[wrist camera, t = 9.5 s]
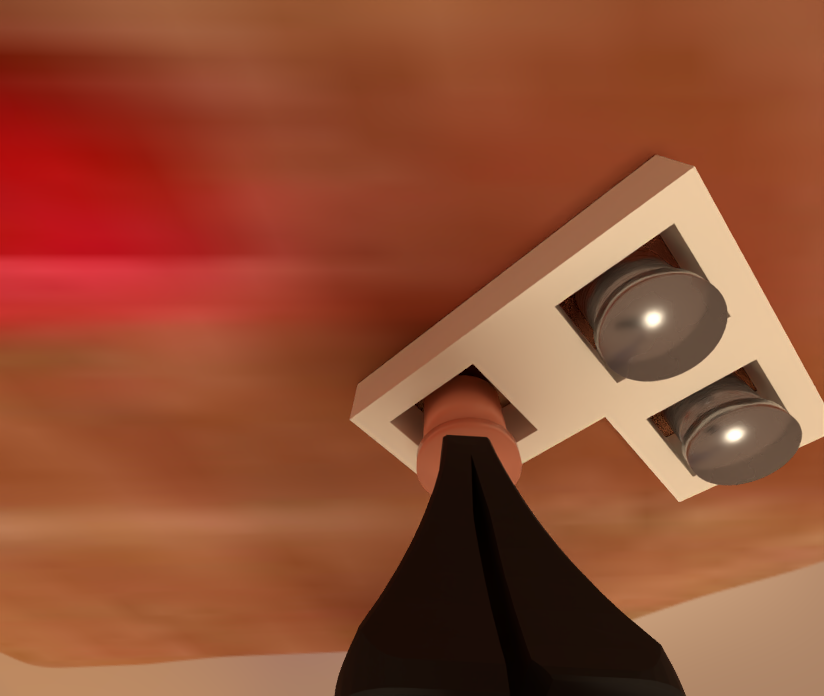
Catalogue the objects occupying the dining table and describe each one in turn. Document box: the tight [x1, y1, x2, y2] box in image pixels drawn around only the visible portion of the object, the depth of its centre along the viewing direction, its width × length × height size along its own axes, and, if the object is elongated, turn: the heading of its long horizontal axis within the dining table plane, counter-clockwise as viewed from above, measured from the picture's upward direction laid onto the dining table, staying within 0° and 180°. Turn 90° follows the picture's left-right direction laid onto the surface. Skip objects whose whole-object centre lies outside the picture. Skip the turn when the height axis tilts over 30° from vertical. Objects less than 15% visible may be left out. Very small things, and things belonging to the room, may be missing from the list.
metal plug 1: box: [575, 247, 728, 382], centre depth 19 cm, size 5×5×4 cm
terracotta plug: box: [416, 375, 522, 495], centre depth 21 cm, size 5×5×4 cm
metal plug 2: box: [660, 372, 802, 485], centre depth 22 cm, size 5×5×4 cm
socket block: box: [350, 155, 824, 502], centre depth 23 cm, size 16×18×3 cm
